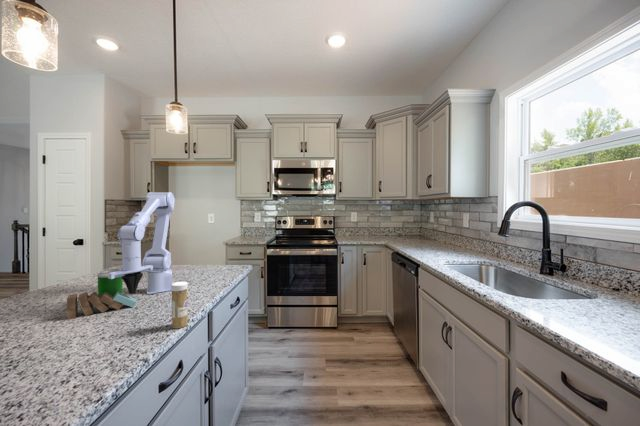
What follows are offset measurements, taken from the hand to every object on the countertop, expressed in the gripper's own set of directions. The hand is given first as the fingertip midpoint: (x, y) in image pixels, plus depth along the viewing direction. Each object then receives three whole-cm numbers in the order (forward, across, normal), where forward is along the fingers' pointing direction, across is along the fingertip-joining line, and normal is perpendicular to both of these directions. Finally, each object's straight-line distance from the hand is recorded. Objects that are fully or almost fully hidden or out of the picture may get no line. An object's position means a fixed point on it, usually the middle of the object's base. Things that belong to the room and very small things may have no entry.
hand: (132, 293), depth 98 cm
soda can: (+5, +1, -13) cm, 14 cm away
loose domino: (+4, 0, 0) cm, 4 cm away
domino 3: (+4, +7, -4) cm, 9 cm away
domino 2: (+4, +10, -6) cm, 13 cm away
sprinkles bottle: (+5, +4, +31) cm, 32 cm away
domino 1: (+5, +14, -8) cm, 17 cm away
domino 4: (+4, +3, -2) cm, 5 cm away
